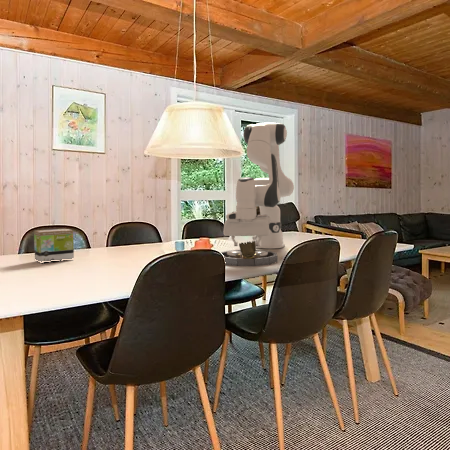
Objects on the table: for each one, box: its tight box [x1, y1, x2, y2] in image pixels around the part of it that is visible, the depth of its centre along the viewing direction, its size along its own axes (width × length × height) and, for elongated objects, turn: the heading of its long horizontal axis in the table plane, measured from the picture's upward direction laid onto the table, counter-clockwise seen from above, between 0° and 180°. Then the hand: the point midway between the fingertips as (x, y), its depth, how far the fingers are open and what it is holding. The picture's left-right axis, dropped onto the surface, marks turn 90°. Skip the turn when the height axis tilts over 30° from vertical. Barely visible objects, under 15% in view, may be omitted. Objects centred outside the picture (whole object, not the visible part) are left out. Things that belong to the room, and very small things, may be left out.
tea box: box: [33, 228, 75, 262], centre depth 186 cm, size 15×10×15 cm
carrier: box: [221, 249, 278, 267], centre depth 181 cm, size 27×27×6 cm
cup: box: [238, 240, 257, 258], centre depth 174 cm, size 8×7×8 cm
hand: (246, 246), depth 174 cm, fingers open, 8 cm apart
